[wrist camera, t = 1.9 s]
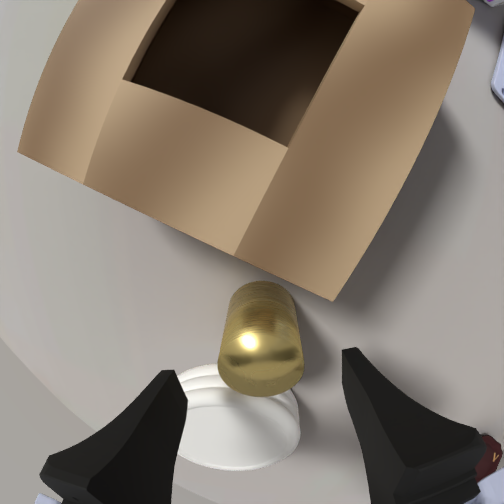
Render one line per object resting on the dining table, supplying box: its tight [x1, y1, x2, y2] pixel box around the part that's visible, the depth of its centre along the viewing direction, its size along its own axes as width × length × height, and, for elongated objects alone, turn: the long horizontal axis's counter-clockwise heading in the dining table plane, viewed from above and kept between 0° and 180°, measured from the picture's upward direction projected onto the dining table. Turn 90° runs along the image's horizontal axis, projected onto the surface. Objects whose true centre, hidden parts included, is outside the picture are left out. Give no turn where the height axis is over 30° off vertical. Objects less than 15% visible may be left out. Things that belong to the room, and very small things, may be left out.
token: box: [217, 281, 304, 397], centre depth 15 cm, size 4×4×5 cm
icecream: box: [475, 435, 503, 483], centre depth 21 cm, size 7×7×15 cm
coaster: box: [177, 363, 301, 471], centre depth 19 cm, size 10×10×4 cm
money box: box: [17, 0, 475, 302], centre depth 10 cm, size 12×12×7 cm
